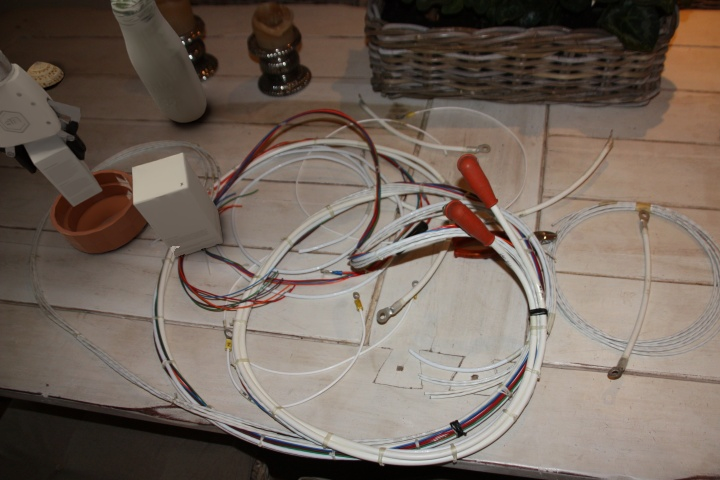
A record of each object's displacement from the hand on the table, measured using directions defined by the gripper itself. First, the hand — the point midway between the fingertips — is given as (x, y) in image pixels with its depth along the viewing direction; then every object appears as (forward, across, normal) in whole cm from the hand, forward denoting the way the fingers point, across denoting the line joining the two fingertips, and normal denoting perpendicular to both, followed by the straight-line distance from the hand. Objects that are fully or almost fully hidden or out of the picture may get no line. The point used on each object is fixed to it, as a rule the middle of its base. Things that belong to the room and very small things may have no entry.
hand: (58, 160), depth 90 cm
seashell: (+16, -17, +53) cm, 58 cm away
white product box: (+16, +16, -9) cm, 25 cm away
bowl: (+16, 0, 0) cm, 16 cm away
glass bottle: (+16, +17, +25) cm, 34 cm away
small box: (+7, 0, 0) cm, 7 cm away
